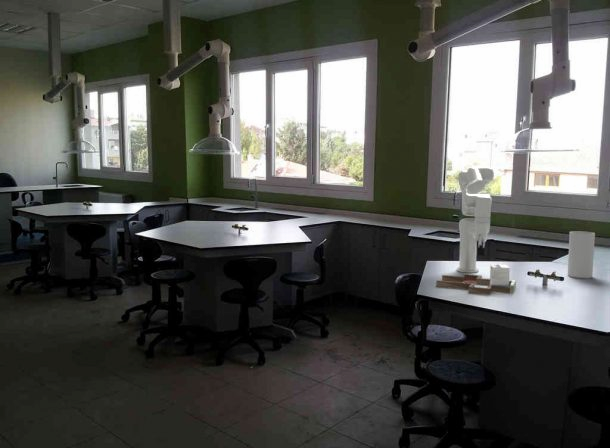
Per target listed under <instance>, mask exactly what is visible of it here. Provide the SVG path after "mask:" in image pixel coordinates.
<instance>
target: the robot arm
mask: <svg viewBox="0 0 610 448" xmlns="http://www.w3.org/2000/svg"><path fill="white" fill-rule="evenodd" d="M494 177H495V173H494V170H493V168H492V167H490V166H471V167H469V168H468V169H466V170H461V171H460V172H459V173H458V175H457V179H458V185H459V187H460V190H461V212H462V213H461V214H462V215H463V216H466V218H461V220H459V223H458V229H459V266H458V267H457V268H456V271H457V272H459V273H460V272H461V273H467V274H468V273H470V274H471V273H479V268H477V256H481V257H482V256H483V257H484V256H485V255H486V248H485V245H486V242H487V240H488V234H489V233H490V230H491V229H490V228H491V215H492V214H491V212H492V211H491V209H492V207H491V206H492V203H493V198H492V197H491V195H490V194H484V193H481V192H482V191H483V190H484V189H485V187H486V185H489V184H491V183H492V182H493V181H494ZM480 193H481V194H480ZM467 216H469V217H470V218H468V217H467ZM473 217H474V218H473ZM473 235H475V236H473ZM477 243H478V248H477Z"/></svg>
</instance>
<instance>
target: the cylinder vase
mask: <svg viewBox="0 0 610 448" xmlns="http://www.w3.org/2000/svg"><path fill="white" fill-rule="evenodd" d="M595 239H596V233H595V232H592V231H591V232H590V231H579V230H578V231H577V230H576V231H573V230H572V231H569V240H568V243H569V244H568V255H567V256H568V259H567V276H568V277H570V278H574V279H582V280H583V279H591V278H593V274H594V273H593V272H594V255H595V254H594V253H595Z"/></svg>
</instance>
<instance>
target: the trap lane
mask: <svg viewBox="0 0 610 448" xmlns="http://www.w3.org/2000/svg"><path fill="white" fill-rule="evenodd" d="M482 276H483V275H481V274H480V275H478V274H468V273H467V274H466V273H462V274H461V275H460V276H457V275H449V274H447V275H446V274H443V275H441V280H439V279H437V280H436V281H435V282H436V284H435V285H436V287H438V286H440V287H439V288H448V287H450V288H449V289H461V290H468V294H475V295H476V294H478V295H486V296H487V295H488V296H490V295H491V294H492V293H500V294H501V293H504V294H510V295H511V294H514V292H515V290H516V287H517V279H516V278H513V279H512V280H509V287H507V286H496V285H490V278H483V277H482ZM466 282H467V283H466ZM476 285H481V286H483V285H485V286H487V287H480V286H476Z"/></svg>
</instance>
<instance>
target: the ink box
mask: <svg viewBox="0 0 610 448" xmlns="http://www.w3.org/2000/svg"><path fill="white" fill-rule="evenodd" d="M495 263H496V264H490V266H489V267H490V268H489V270H490V274H489V279H490V285H496V286H507V287H509V281H510V269H511V268H510V267H509V266H508V265H507V264H499V263H498V262H497V261H496V262H495Z"/></svg>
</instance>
